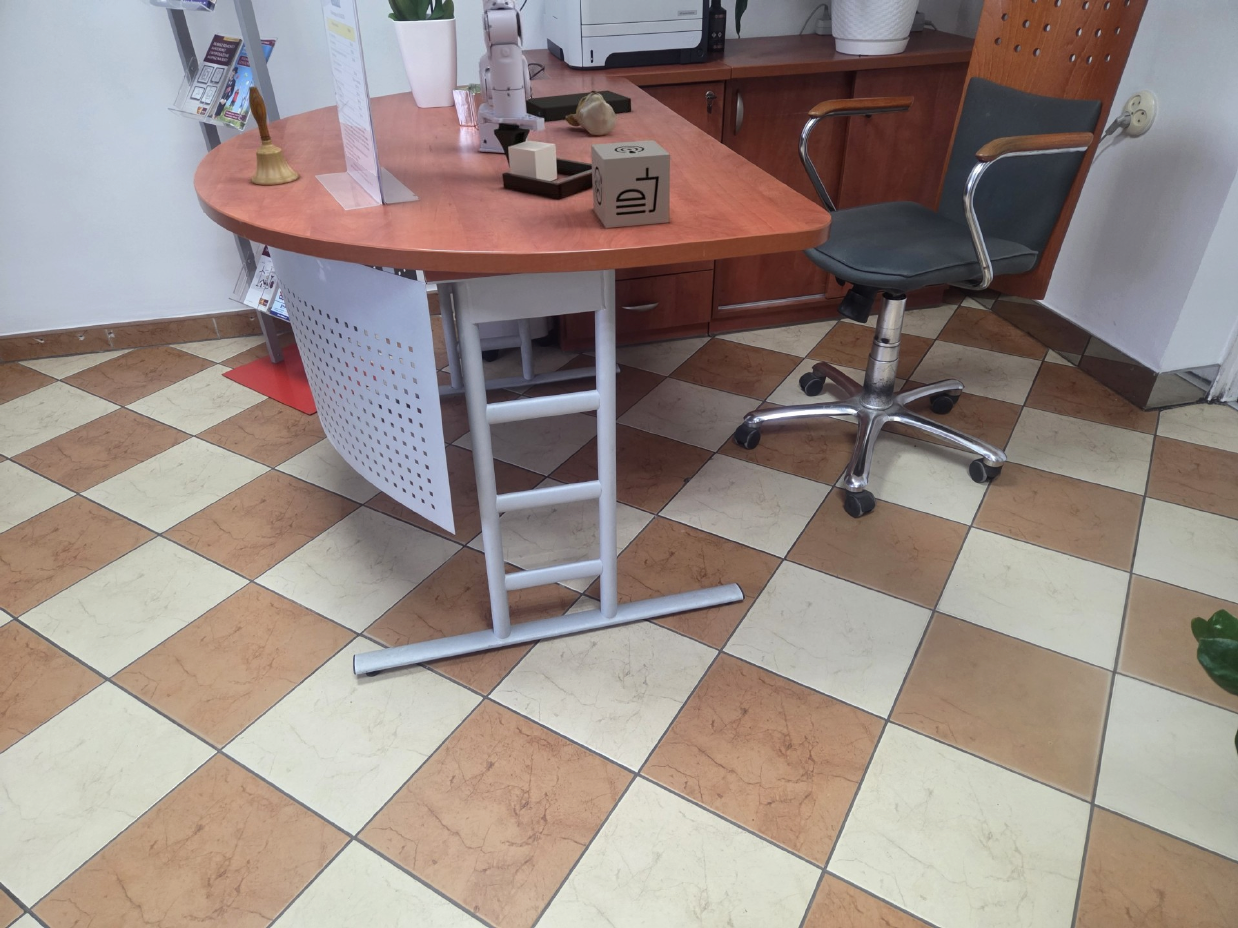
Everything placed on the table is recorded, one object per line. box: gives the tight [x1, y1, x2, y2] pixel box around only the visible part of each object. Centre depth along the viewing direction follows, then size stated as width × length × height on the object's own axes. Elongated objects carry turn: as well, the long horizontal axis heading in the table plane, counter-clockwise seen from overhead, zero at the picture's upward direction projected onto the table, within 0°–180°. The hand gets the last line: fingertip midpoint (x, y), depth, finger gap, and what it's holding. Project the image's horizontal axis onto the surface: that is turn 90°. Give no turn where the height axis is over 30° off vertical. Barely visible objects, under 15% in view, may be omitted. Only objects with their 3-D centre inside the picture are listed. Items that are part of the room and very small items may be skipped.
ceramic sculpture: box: [564, 90, 617, 137], centre depth 178 cm, size 11×9×15 cm
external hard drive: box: [525, 90, 632, 123], centre depth 199 cm, size 14×23×3 cm, turn 115°
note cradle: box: [502, 157, 593, 200], centre depth 142 cm, size 13×14×3 cm
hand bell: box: [248, 85, 299, 186], centre depth 146 cm, size 8×8×16 cm
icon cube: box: [590, 139, 671, 229], centre depth 124 cm, size 10×10×10 cm
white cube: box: [508, 139, 558, 182], centre depth 144 cm, size 6×6×6 cm
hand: (515, 168), depth 148 cm, fingers closed
